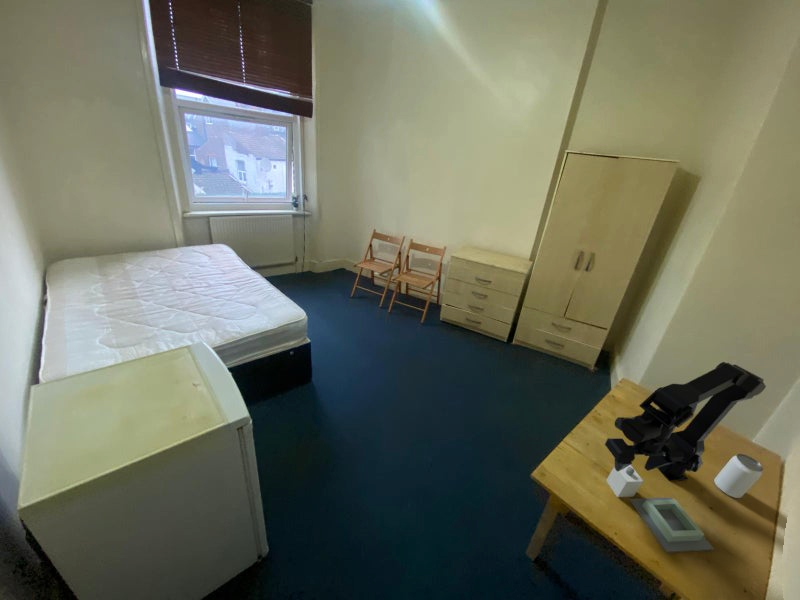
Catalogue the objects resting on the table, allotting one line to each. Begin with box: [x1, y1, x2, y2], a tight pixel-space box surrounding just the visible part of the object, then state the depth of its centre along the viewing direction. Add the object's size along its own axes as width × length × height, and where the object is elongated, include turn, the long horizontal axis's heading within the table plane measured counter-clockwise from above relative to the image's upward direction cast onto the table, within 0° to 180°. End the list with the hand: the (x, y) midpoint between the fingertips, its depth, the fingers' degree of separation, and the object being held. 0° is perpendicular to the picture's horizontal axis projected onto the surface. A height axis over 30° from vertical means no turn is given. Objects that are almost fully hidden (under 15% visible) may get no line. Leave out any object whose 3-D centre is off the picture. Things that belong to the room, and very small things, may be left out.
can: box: [713, 453, 764, 499], centre depth 95 cm, size 6×6×12 cm
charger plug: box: [605, 464, 644, 498], centre depth 93 cm, size 5×5×8 cm
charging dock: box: [629, 497, 714, 553], centre depth 86 cm, size 13×13×3 cm
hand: (631, 469), depth 91 cm, fingers open, 9 cm apart
